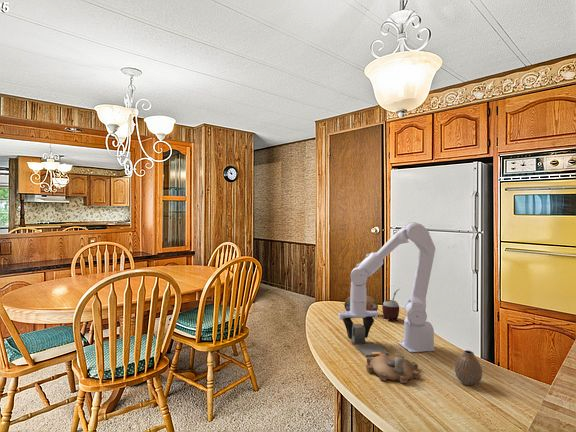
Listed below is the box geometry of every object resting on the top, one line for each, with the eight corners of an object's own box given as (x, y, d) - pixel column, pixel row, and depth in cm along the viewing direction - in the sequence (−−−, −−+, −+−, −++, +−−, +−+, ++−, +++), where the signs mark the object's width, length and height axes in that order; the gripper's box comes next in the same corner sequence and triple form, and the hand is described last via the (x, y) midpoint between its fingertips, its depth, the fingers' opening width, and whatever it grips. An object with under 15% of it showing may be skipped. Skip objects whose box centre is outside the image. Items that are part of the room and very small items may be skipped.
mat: (377, 345, 121) (377, 343, 121) (388, 354, 113) (388, 352, 113) (356, 346, 119) (356, 344, 119) (366, 356, 111) (366, 354, 111)
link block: (360, 339, 126) (360, 323, 126) (364, 343, 122) (365, 327, 122) (350, 340, 125) (350, 324, 125) (354, 344, 121) (354, 328, 121)
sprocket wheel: (404, 356, 111) (404, 340, 111) (430, 381, 96) (430, 362, 95) (358, 359, 109) (358, 342, 109) (377, 384, 93) (378, 365, 93)
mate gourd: (384, 315, 153) (385, 283, 152) (402, 319, 149) (403, 285, 148) (380, 320, 146) (380, 286, 146) (398, 324, 142) (399, 288, 142)
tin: (344, 314, 155) (344, 295, 155) (344, 311, 158) (344, 294, 158) (377, 316, 153) (378, 297, 152) (377, 313, 156) (377, 295, 156)
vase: (481, 391, 91) (482, 359, 91) (453, 384, 95) (453, 353, 94) (482, 380, 97) (483, 350, 97) (455, 373, 101) (456, 344, 100)
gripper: (372, 296, 128) (371, 332, 129) (335, 298, 125) (335, 334, 126) (380, 302, 121) (379, 339, 122) (342, 304, 119) (341, 342, 119)
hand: (357, 337), depth 123 cm, fingers open, 5 cm apart
